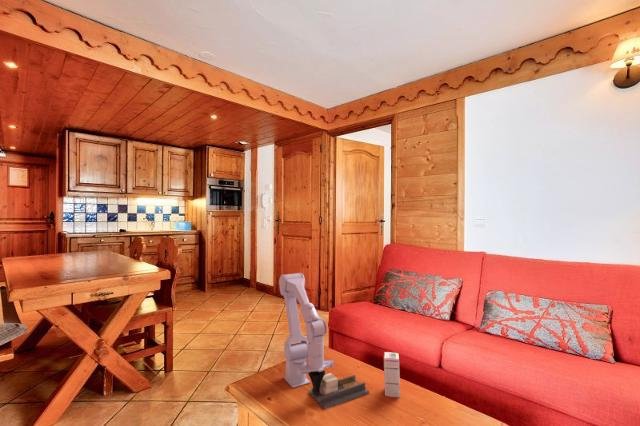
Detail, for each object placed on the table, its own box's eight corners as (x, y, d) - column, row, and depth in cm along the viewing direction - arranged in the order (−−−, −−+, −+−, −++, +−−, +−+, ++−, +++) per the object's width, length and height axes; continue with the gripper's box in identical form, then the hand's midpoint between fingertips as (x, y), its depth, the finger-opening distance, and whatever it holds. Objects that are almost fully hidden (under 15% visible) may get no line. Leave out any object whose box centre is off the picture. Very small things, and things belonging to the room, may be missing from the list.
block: (319, 392, 120) (319, 376, 120) (330, 388, 122) (330, 373, 122) (326, 398, 116) (326, 382, 116) (337, 394, 118) (337, 378, 118)
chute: (308, 392, 121) (308, 385, 121) (351, 379, 131) (351, 372, 131) (324, 409, 111) (324, 400, 111) (369, 393, 121) (369, 385, 121)
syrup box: (400, 397, 118) (399, 359, 118) (384, 396, 119) (383, 357, 119) (399, 389, 123) (399, 352, 124) (384, 388, 125) (383, 351, 125)
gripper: (303, 362, 109) (303, 401, 109) (338, 353, 117) (338, 389, 116) (294, 354, 116) (294, 391, 115) (328, 346, 123) (328, 381, 123)
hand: (316, 390), depth 116 cm, fingers closed
